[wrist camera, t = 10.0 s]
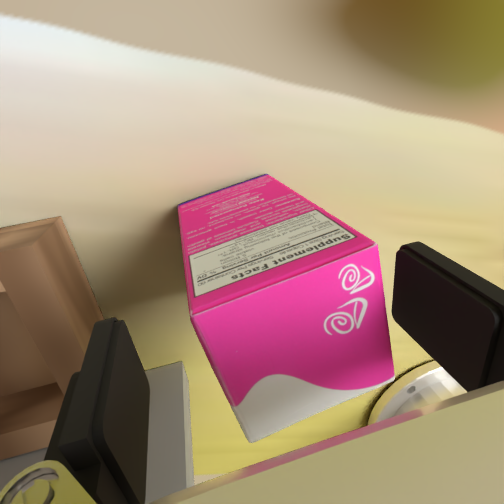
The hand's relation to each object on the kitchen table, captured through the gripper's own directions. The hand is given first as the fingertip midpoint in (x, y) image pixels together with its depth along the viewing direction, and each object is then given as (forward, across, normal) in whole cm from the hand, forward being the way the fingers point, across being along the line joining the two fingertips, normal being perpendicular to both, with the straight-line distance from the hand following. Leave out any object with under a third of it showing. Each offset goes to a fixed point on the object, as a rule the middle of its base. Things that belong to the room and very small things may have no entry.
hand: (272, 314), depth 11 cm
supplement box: (+10, -1, +1) cm, 10 cm away
